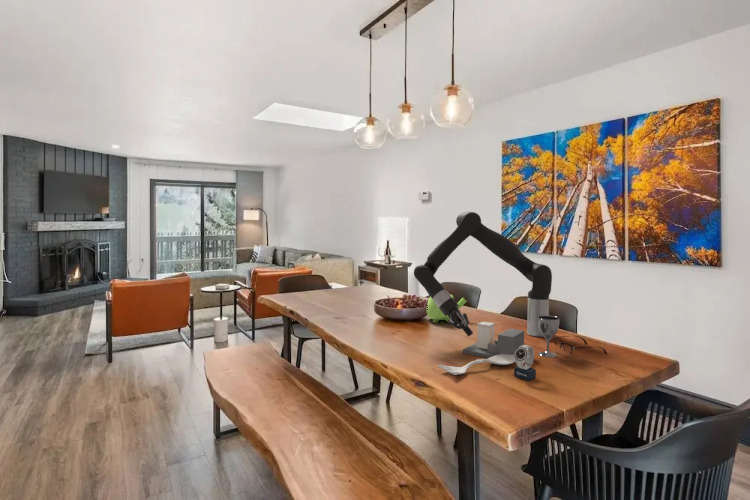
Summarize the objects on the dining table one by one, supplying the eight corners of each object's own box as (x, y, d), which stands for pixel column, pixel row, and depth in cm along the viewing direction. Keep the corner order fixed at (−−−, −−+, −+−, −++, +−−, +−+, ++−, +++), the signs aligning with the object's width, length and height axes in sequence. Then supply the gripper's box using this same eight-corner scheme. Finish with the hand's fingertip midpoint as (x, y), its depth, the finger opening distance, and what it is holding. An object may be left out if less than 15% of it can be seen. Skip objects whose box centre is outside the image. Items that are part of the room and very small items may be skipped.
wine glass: (548, 358, 164) (549, 320, 163) (532, 353, 171) (533, 316, 170) (562, 355, 168) (563, 318, 167) (546, 350, 175) (547, 314, 174)
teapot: (470, 325, 218) (471, 294, 217) (428, 325, 218) (429, 294, 217) (461, 314, 243) (461, 287, 242) (424, 314, 243) (424, 287, 242)
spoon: (437, 373, 151) (437, 363, 151) (504, 357, 165) (504, 348, 165) (453, 381, 143) (453, 371, 143) (522, 364, 157) (522, 355, 157)
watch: (510, 377, 145) (511, 346, 144) (524, 372, 150) (524, 341, 149) (525, 382, 141) (526, 350, 140) (538, 377, 145) (539, 345, 145)
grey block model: (462, 352, 172) (463, 329, 172) (478, 344, 184) (479, 322, 183) (511, 363, 160) (511, 338, 159) (525, 353, 172) (525, 330, 171)
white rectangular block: (477, 347, 174) (477, 323, 173) (482, 344, 178) (482, 321, 177) (489, 349, 170) (489, 325, 170) (494, 346, 174) (494, 323, 174)
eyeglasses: (551, 344, 185) (551, 335, 185) (585, 343, 186) (585, 334, 186) (572, 356, 169) (572, 346, 168) (609, 355, 170) (610, 345, 170)
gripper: (443, 299, 178) (469, 332, 171) (458, 295, 188) (483, 326, 181) (432, 310, 181) (457, 343, 174) (447, 305, 191) (472, 336, 185)
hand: (471, 334), depth 178 cm, fingers closed
